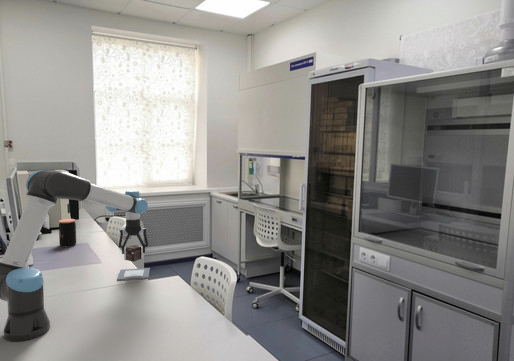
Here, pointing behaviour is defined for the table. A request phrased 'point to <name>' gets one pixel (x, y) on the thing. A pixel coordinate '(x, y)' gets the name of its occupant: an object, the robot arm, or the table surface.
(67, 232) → the coffee jar
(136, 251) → the box
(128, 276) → the mat
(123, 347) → the table surface
